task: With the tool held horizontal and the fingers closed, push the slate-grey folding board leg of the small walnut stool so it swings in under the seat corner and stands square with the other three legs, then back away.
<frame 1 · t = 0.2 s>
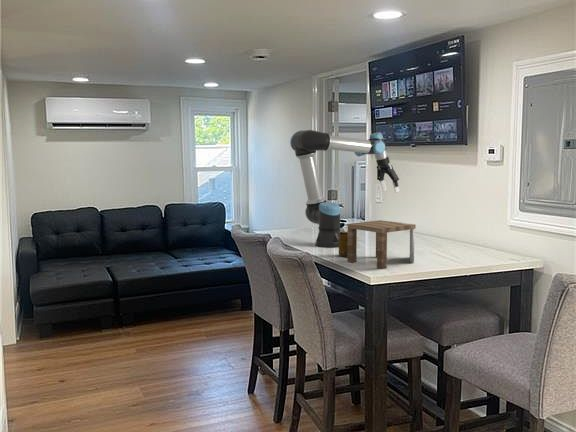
hand: (391, 191, 335), 28 cm above the table, tool tilted 20°, fingers open, 13 cm apart
condiment: (345, 256, 275), on the table
step stool: (380, 262, 258), on the table
folding leg: (412, 243, 261), point 8 cm above the table, hinge at -50.0°
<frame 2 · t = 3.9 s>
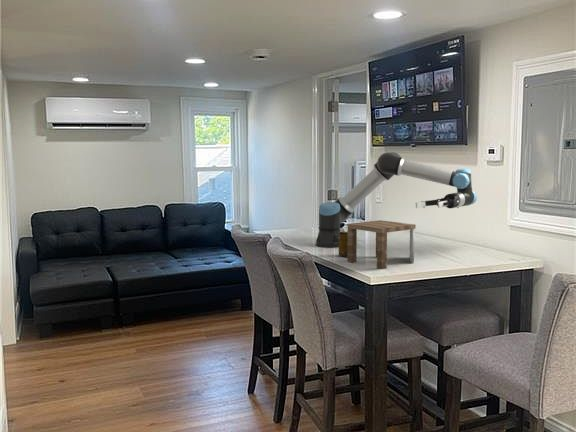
hand: (427, 205, 272), 25 cm above the table, tool horizontal, fingers open, 13 cm apart
nothing on the table moved.
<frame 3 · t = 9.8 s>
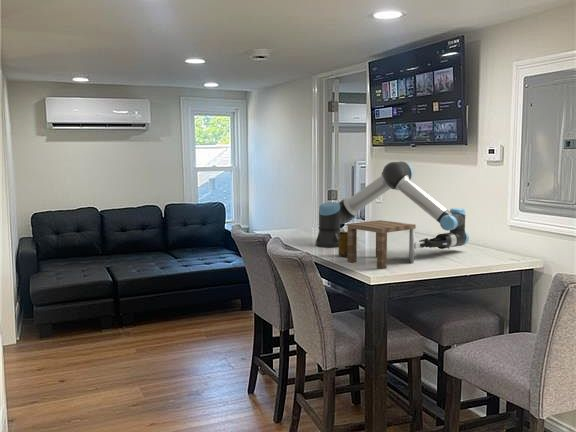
hand: (414, 245, 262), 7 cm above the table, tool horizontal, fingers closed
folding leg: (411, 243, 261), point 8 cm above the table, hinge at -47.6°, touching gripper
everything else where it was.
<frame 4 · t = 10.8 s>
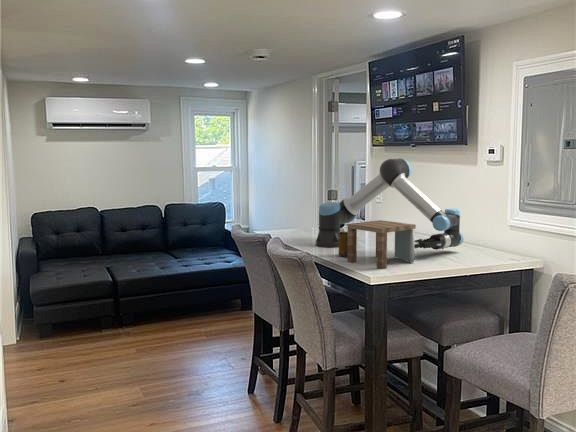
hand: (407, 246, 261), 7 cm above the table, tool horizontal, fingers closed
folding leg: (404, 243, 261), point 8 cm above the table, hinge at -17.0°, touching gripper
everything else where it was.
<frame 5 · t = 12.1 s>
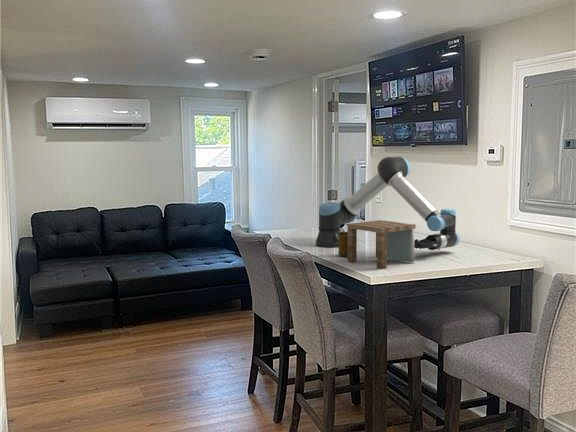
hand: (404, 246, 259), 7 cm above the table, tool horizontal, fingers closed
folding leg: (399, 244, 260), point 8 cm above the table, hinge at 8.7°, touching gripper
everything else where it was.
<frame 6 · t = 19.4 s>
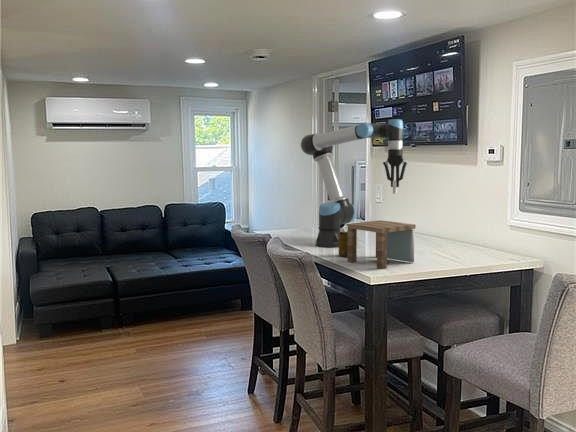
hand: (394, 193, 295), 29 cm above the table, tool pointing down, fingers closed
folding leg: (399, 244, 260), point 8 cm above the table, hinge at 8.7°
everything else where it was.
at the end: folding leg at +9° (first picture: -50°); condiment moved 0.3 cm from its start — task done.
